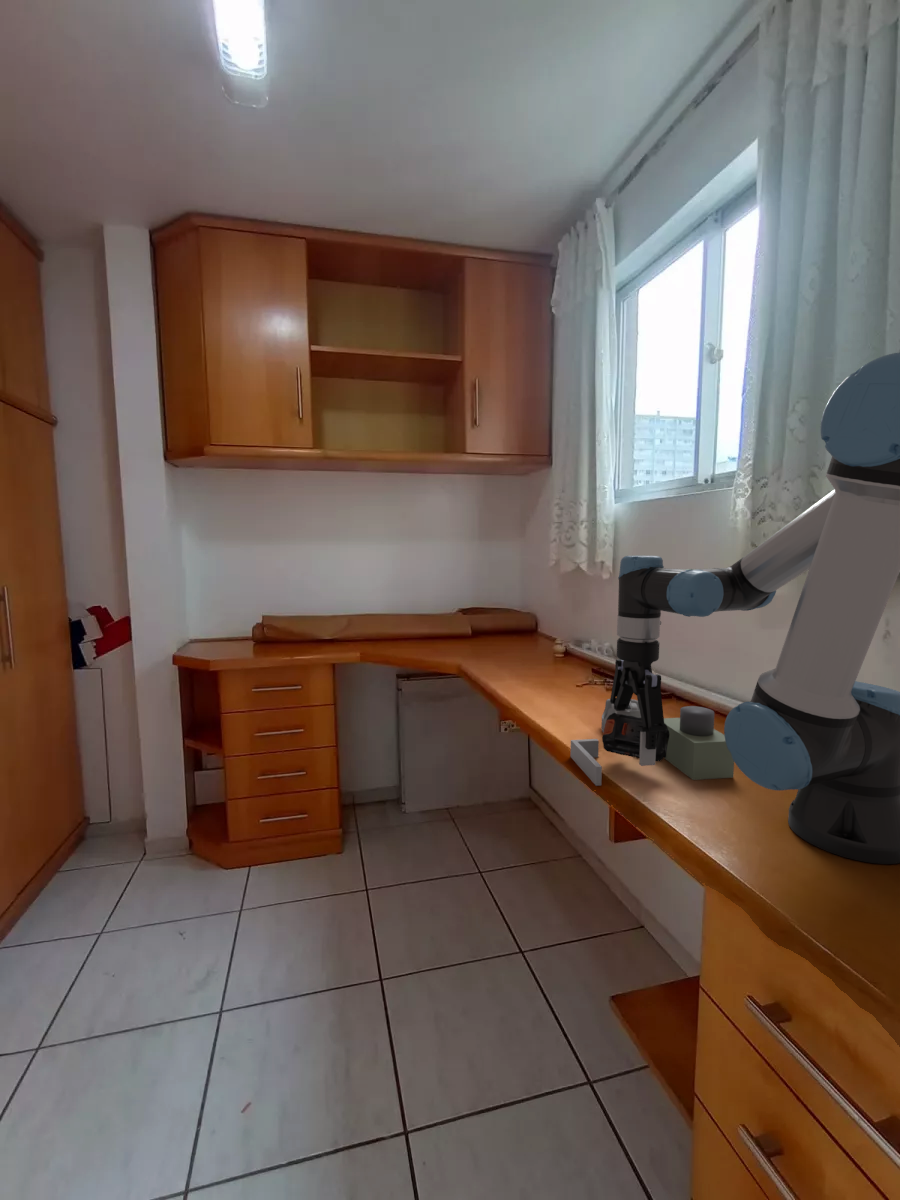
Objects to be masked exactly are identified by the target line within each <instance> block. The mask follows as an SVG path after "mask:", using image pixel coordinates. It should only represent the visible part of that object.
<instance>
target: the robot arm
mask: <svg viewBox="0 0 900 1200" xmlns="http://www.w3.org/2000/svg"><path fill="white" fill-rule="evenodd" d="M820 436H821V440H823V442H824V444H825V445H824V448H825V450H826V451H827V452H828V453H829V454H830V455H831V459H830V462H829V465H828V466H827V467H828V468H827V472H826V473H825V477H826V479H827V480H828V481H829V483H830V484H831V486H832V487H833V490H832V491H830V492H828V493H827V494H826V495H825V496H823V497H822V498H821V499H819V500H818V501H817V502H815V503H814V504H812V505H811V506H810V507H809V508H807V509H806V510H804V511H803V512H802V513H800V514H799V515H798V516H797V517H794V519H793V520H791V521H789V522H788V523H786V525H784V526H783V527H781V529H779V530H778V531H776V532H775V533H774V534H772V535H771V536H770V537H768V538H766V540H764V541H763V542H762V543H760V544H758V546H757V547H755V548H754V549H752V550H751V551H749V552H748V553H747V554H746V555H744V556H743V557H741V558H740V559H739V560H738V561H736V562H735V563H733V564H732V565H730V566H728V567H713V568H666V567H665V566H664V562H663V561H664V560H663V558H662V557H661V556H660V555H625V556H624V557H622V558H621V559H620V565H619V573H618V578H617V579H618V604H617V605H618V606H617V611H618V612H617V621H616V624H617V625H616V635H617V636H618V637H619V638H617V640H616V657H617V658H618V659H615V668H614V669H615V670H614V676H613V681H612V682H613V683H612V687H611V688H612V689H611V693H610V697H609V699H610V703H611V704H614V709H615V710H616V711H615V713H616V714H622V715H627V716H630V711H628V710H625V709H631V707H630V705H629V703H630V701H631V699H632V697H633V695H636V698H637V699H636V700H637V701H638V704H639V709H640V714H641V719H642V724H643V728H641V729H640V757H639V758H638V759H639V761H638V764H639V765H640V767H643V766H646V767H647V766H656V762H655V760H656V737H657V732H658V731H664V730H665V726H664V718H665V717H664V708H663V699H662V698H663V697H662V689H661V688H662V675H661V674H654V673H653V670H652V664H653V663H654V662H657V661H658V660H659V658H660V642H659V640H658V639H659V638H660V631H661V628H660V627H661V625H662V621H661V615H662V613H661V612H667V613H672V614H678V615H683V617H684V616H685V617H697V618H698V617H699V618H701V617H702V618H704V617H709V616H710V615H712V614H713V613H717V612H727V611H728V612H729V611H730V612H731V611H744V612H745V611H746V612H747V611H752V610H755V609H761V608H764V607H766V606H768V605H769V604H770V603H771V602H772V601H773V599H774V597H775V596H776V593H777V590H779V589H781V588H782V587H784V586H785V585H787V584H788V583H790V582H791V581H794V579H796V578H797V577H799V576H801V575H803V574H804V573H805V572H806V573H807V575H806V578H805V581H804V583H803V587H802V591H801V593H800V595H799V599H798V602H797V605H796V607H795V610H794V613H793V616H792V619H791V622H790V625H789V628H788V631H787V634H786V636H785V640H784V643H783V645H782V648H781V651H780V654H779V657H778V661H777V663H776V666H775V668H773V669H771V670H768V671H765V672H762V673H761V674H760V675H759V676H758V679H757V680H756V685H755V687H754V689H753V693H752V696H751V699H750V701H744V702H741V703H739V704H737V705H736V706H734V707H733V708H732V709H731V710H730V711H729V712H728V713H727V716H726V718H725V721H724V727H723V729H724V730H723V734H724V735H725V741H726V745H727V748H728V750H729V751H730V752H731V755H732V759H733V760H734V764H735V765H736V766H737V768H738V769H739V770H740V772H742V773H743V775H744V776H745V777H747V778H748V779H749V780H751V781H752V782H754V783H755V784H757V785H758V786H760V787H763V788H765V789H768V790H772V791H788V790H793V791H794V790H797V793H796V796H795V798H794V799H792V801H791V803H790V805H789V807H788V817H787V819H788V820H787V823H788V826H789V827H790V829H791V830H792V831H793V833H795V835H796V836H798V837H799V838H801V839H803V841H805V842H807V843H808V844H809V845H810V844H811V845H812V846H815V847H817V848H818V849H821V850H823V851H826V852H828V853H831V854H833V855H837V856H840V857H843V858H847V859H850V860H855V861H857V862H858V861H859V862H865V863H870V864H879V865H893V864H894V865H896V864H900V691H899V690H896V689H893V688H889V687H885V686H881V685H877V684H871V683H867V682H862V681H857V678H858V675H859V673H860V670H861V669H862V666H863V663H864V661H865V658H866V657H867V653H868V651H869V648H870V646H871V644H872V641H873V638H874V636H875V633H876V631H877V628H878V626H879V625H880V621H881V618H882V616H883V614H884V612H885V609H886V606H887V604H888V602H889V599H890V597H891V595H892V592H893V589H894V587H895V584H896V582H897V579H898V577H899V575H900V352H899V351H898V352H894V353H893V352H892V353H889V354H886V355H882V356H879V357H877V358H875V359H873V360H870V361H868V362H866V363H865V364H863V365H862V366H861V367H860V368H858V369H857V370H855V371H854V372H853V373H851V374H850V375H848V376H847V377H846V378H844V380H843V381H841V383H840V384H839V385H838V386H837V387H836V389H835V390H834V391H833V393H832V395H831V396H830V398H829V399H828V401H827V404H826V405H825V408H824V410H823V413H822V416H821V421H820Z"/></svg>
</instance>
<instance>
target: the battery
mask: <svg viewBox="0 0 900 1200" xmlns="http://www.w3.org/2000/svg"><path fill="white" fill-rule="evenodd" d="M664 726H665V730H664V731H658V732H657V737H656V760H655V763H657V762H661V761H663V759H665V757H666V753H667V746H668V740H669V735H670V734H669V730H668V728H667V725H666V724H665V723H664ZM641 728H643V724H642V719H641V718H638V717H634V716H627V715H622V714H616V713H613V714H611V715H609V717H608V718H607V720H606V724H605V728H604V733H603V732H602V737H601V739H602V745H603V749H604V750H605V751H606V752H608V753H613V754H616V755H617V754H618V755H622V756H627V757H631V758H637V759H639V757H640V729H641Z"/></svg>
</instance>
